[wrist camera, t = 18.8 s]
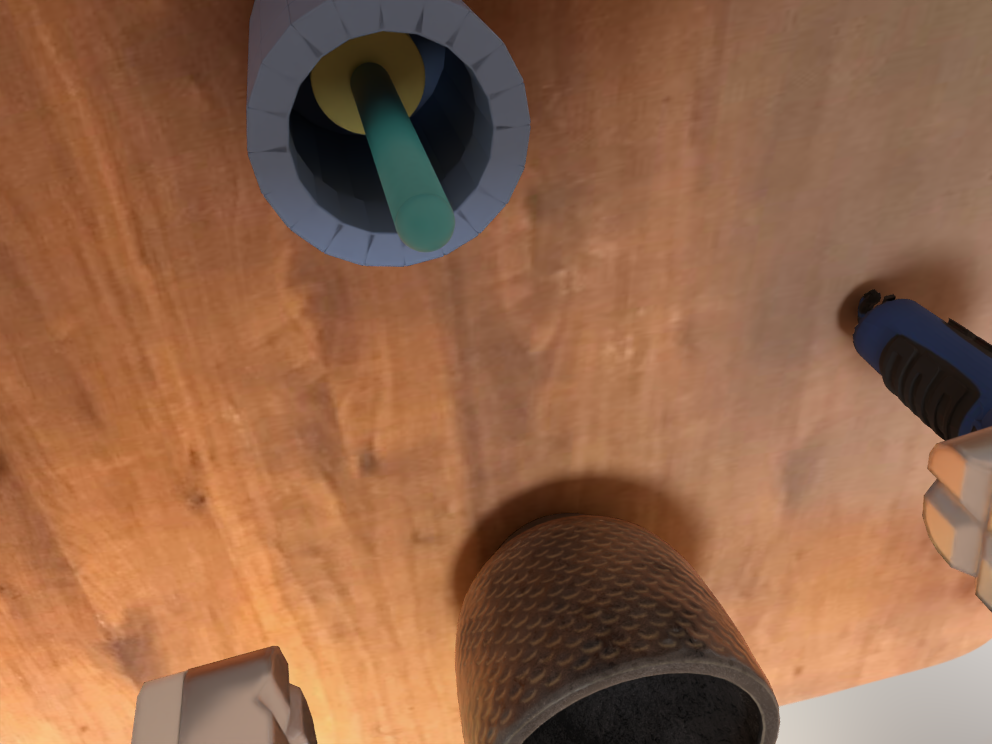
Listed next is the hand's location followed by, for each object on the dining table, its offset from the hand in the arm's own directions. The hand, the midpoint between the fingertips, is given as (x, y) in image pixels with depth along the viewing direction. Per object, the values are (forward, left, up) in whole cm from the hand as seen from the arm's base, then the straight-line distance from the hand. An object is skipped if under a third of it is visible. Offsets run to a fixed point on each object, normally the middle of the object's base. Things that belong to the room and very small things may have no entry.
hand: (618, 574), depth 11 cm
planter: (+38, +4, -36) cm, 52 cm away
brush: (+2, 0, -35) cm, 35 cm away
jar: (+2, 0, -36) cm, 36 cm away
